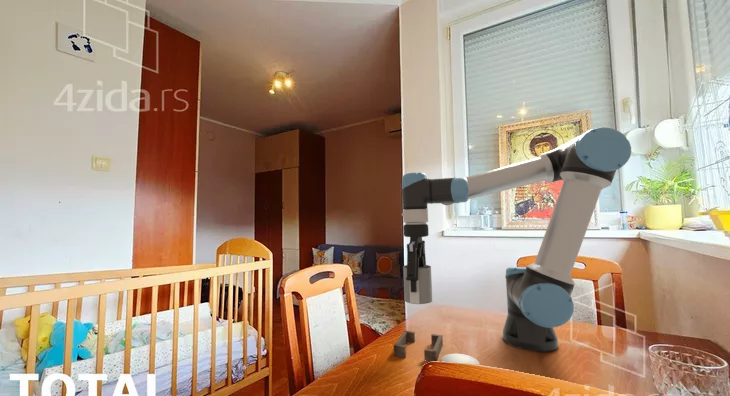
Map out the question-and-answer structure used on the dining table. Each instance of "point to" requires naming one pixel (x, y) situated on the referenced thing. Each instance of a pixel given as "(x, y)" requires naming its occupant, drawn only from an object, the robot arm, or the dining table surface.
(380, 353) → the dining table surface
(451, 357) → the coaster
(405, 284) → the cup
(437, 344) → the pocket holder
